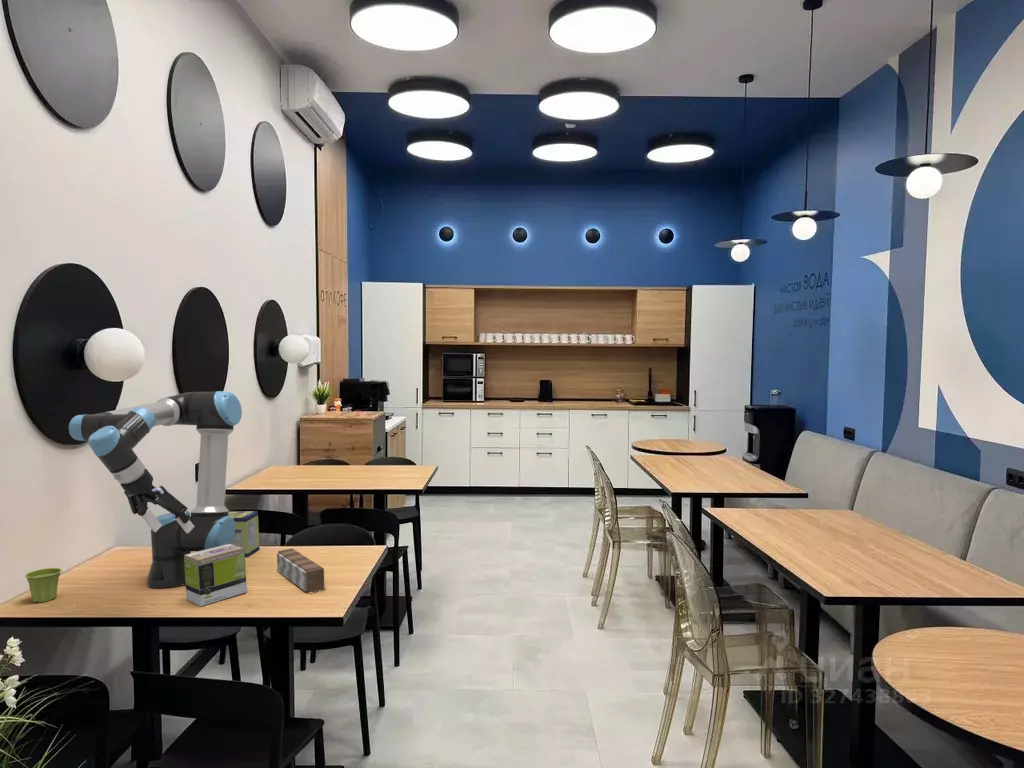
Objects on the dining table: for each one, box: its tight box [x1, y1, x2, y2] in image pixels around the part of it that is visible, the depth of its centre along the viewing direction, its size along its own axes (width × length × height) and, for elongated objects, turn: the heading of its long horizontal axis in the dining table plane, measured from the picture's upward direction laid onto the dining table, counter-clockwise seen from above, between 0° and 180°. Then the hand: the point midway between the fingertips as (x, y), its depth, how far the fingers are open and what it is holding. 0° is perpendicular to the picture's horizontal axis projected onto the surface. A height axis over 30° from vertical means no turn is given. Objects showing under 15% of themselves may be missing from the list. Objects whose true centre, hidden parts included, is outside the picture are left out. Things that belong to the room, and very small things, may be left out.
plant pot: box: [24, 567, 63, 603], centre depth 202 cm, size 9×9×9 cm
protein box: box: [228, 510, 260, 558], centre depth 248 cm, size 10×16×16 cm
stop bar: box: [276, 548, 325, 594], centre depth 215 cm, size 30×6×7 cm, turn 38°
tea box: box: [184, 544, 248, 607], centre depth 201 cm, size 15×10×15 cm, turn 141°
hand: (174, 529), depth 189 cm, fingers open, 13 cm apart
